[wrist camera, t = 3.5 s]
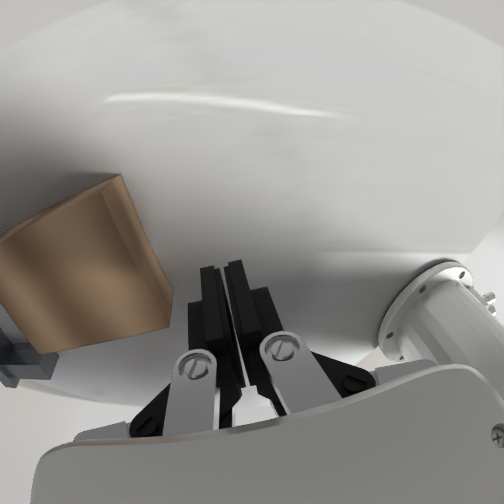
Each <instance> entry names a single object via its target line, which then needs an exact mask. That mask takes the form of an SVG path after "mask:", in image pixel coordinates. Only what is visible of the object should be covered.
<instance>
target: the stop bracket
mask: <svg viewBox="0 0 504 504" xmlns="http://www.w3.org/2000/svg"><path fill="white" fill-rule="evenodd" d="M58 358H59V356H58V354H57V353H56V352H51V353H46V354H39V353H38V352H37V351H36V349H35V348H34V347H33V346H32V345H31V343H26V344H11V343H10V342H9V340H8V339H7V338H6V336H5V335H4V333H3V332H2V330H1V329H0V381H1V382H2V384H3V385H4V386H5V387H11V388H16V387H17V385H18V382H19V380H20V379H41V380H50V379H51V376H52V374H53V371H54V368H55V366H56V363H57V360H58Z"/></svg>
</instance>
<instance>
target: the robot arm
mask: <svg viewBox="0 0 504 504" xmlns="http://www.w3.org/2000/svg"><path fill="white" fill-rule="evenodd" d="M228 265H229V266H226V267H224V272H225V278H226V283H227V288H228V294H229V299H230V304H231V309H232V314H233V320H234V325H235V330H236V334H237V338H238V342H239V346H240V350H241V354H242V357H243V361H244V365H245V368H246V372H247V376H248V379H249V383H250V386H254V385H256V387H257V391H258V394H259V395H262V396H264V397H266V398H268V399H269V400H270V404H271V406H272V408H273V410H274V412H275V414H276V416H277V418H274V419H270V420H266V421H261V422H257V423H252V424H247V425H241V426H236V427H235V406H234V405H235V404H236V403H237V402H238V401H239V399H240V398H241V396H242V392H241V388H244V387H246V385H245V380H244V375H243V370H242V365H241V361H240V356H239V351H238V346H237V341H236V336H235V331H234V326H233V321H232V316H231V313H230V309H229V305H228V301H227V297H226V293H225V289H224V284H223V280H222V276H221V272H220V268H217V269H214V266H209V267H204V268H200V273H201V290H202V301H198V302H193V303H188V344H189V351H188V352H186V353H184V354H182V355H181V356H180V357H179V358H178V359H177V360H176V362H175V365H174V368H173V373H172V379H171V383H170V384H169V385H168V386H167V387H166V388H165V389H164V390H163V391H161V392H160V393H159V394H158V395H157V396H156V397H155V398H154V399H153V400H152V401H151V402H150V403H149V404H148V405H147V406H146V407H145V408H144V409H143V410H142V411H141V412H140V413H139V414H138V415H136V416H135V418H134V419H133V420H132V422H130V423H126V422H125V421H124V422H120V423H116V424H112V425H108V426H104V427H100V428H96V429H91V430H87V431H83V432H81V433H79V434H78V435H76V437H75V438H74V440H73V442H69V443H65V444H62V445H59V446H57V447H54V448H52V449H50V450H49V451H47V452H46V453H45V454H44V455H43V456H42V457H41V458H40V460H39V462H38V464H37V467H36V470H35V474H34V479H33V485H32V491H31V502H30V504H504V326H503V325H502V324H501V323H500V322H499V321H498V320H497V319H496V318H495V313H496V312H495V308H494V306H493V305H492V304H493V303H494V302H495V295H494V293H493V292H489V293H487V294H485V295H483V296H482V297H481V296H480V295H479V294H478V293H477V292H476V291H475V290H474V289H473V285H474V283H473V277H472V275H471V273H470V271H469V270H468V269H467V268H466V267H464V266H463V265H462V264H460V263H458V262H444V263H441V264H438V265H436V266H434V267H432V268H430V269H428V270H426V271H425V272H424V273H422V274H421V275H419V276H418V277H417V278H415V279H414V280H413V281H412V282H411V283H410V284H409V285H408V286H407V287H406V288H405V289H404V290H403V291H402V292H401V293H400V294H399V295H398V297H397V298H396V299H395V301H394V302H393V303H392V305H391V306H390V308H389V310H388V311H387V313H386V314H385V317H384V319H383V321H382V323H381V326H380V330H379V334H378V343H379V347H380V349H381V350H382V352H383V354H384V355H385V356H386V357H387V358H388V359H390V360H392V361H398V362H400V361H407V362H406V363H402V364H396V365H390V366H385V367H379V368H375V371H370V372H368V371H366V370H364V369H362V368H359V367H356V366H353V365H350V364H346V363H343V362H340V361H337V360H334V359H331V358H329V357H326V356H323V355H320V354H317V353H314V352H311V351H310V350H309V349H308V347H307V346H306V344H305V343H304V341H303V340H302V339H301V338H300V337H299V335H297V334H295V333H292V332H288V331H284V330H283V327H282V325H281V322H280V319H279V317H278V314H277V311H276V309H275V306H274V304H273V301H272V298H271V296H270V293H269V290H268V288H267V287H263V288H258V289H254V290H250V288H249V285H248V281H247V278H246V275H245V271H244V268H243V264H242V261H241V260H237V261H232V262H228Z"/></svg>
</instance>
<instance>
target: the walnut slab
mask: <svg viewBox="0 0 504 504" xmlns="http://www.w3.org/2000/svg"><path fill="white" fill-rule="evenodd" d="M172 300H173V290H172V288H171V286H170V284H169V282H168V280H167V278H166V276H165V274H164V272H163V270H162V268H161V266H160V263H159V261H158V259H157V257H156V255H155V253H154V251H153V248H152V246H151V244H150V242H149V240H148V237H147V235H146V233H145V231H144V228H143V226H142V224H141V221H140V219H139V217H138V214H137V212H136V210H135V207H134V205H133V202H132V200H131V198H130V195H129V193H128V190H127V188H126V185H125V183H124V180H123V177H122V175H121V174H120V175H118V176H115V177H113V178H111V179H108V180H106V181H104V182H101V183H99V184H97V185H95V186H92V187H90V188H88V189H86V190H84V191H82V192H80V193H77V194H75V195H73V196H71V197H69V198H67V199H65V200H63V201H61V202H59V203H57V204H55V205H53V206H51V207H50V208H48V209H46V210H44V211H42V212H40V213H38V214H36V215H35V216H33V217H31V218H29V219H28V220H26V221H24V222H22V223H21V224H19V225H17V226H15V227H14V228H12V229H10V230H9V231H7V232H5V233H4V234H2V235H1V236H0V303H1V304H2V305H3V307H4V308H5V310H6V311H7V313H8V314H9V316H10V317H11V318H12V320H13V321H14V323H15V324H16V325H17V327H18V328H19V329H20V331H21V332H22V333H23V334H24V336H25V337H26V338H27V340H28V341H29V342H30V343H31V345H32V346H33V347H34V348H35V349H36V351H37V352H38V353H39V354H46V353H51V352H57V351H62V350H67V349H73V348H78V347H83V346H88V345H93V344H98V343H102V342H107V341H112V340H116V339H121V338H125V337H130V336H134V335H139V334H143V333H147V332H151V331H156V330H160V329H164V328H168V327H169V325H170V316H171V308H172Z"/></svg>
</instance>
